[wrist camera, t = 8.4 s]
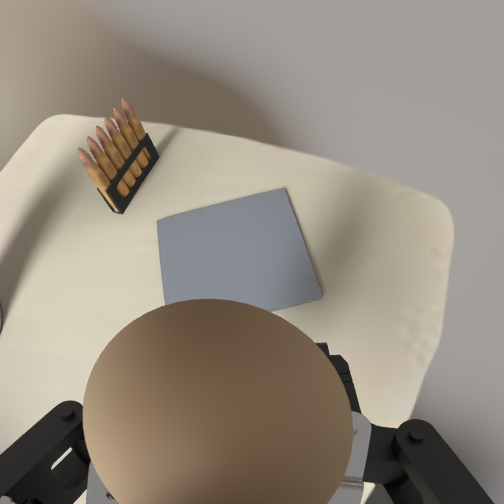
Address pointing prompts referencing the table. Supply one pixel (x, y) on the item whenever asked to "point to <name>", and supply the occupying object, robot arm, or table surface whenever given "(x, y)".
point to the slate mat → (238, 254)
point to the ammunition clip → (120, 158)
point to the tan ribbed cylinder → (216, 410)
